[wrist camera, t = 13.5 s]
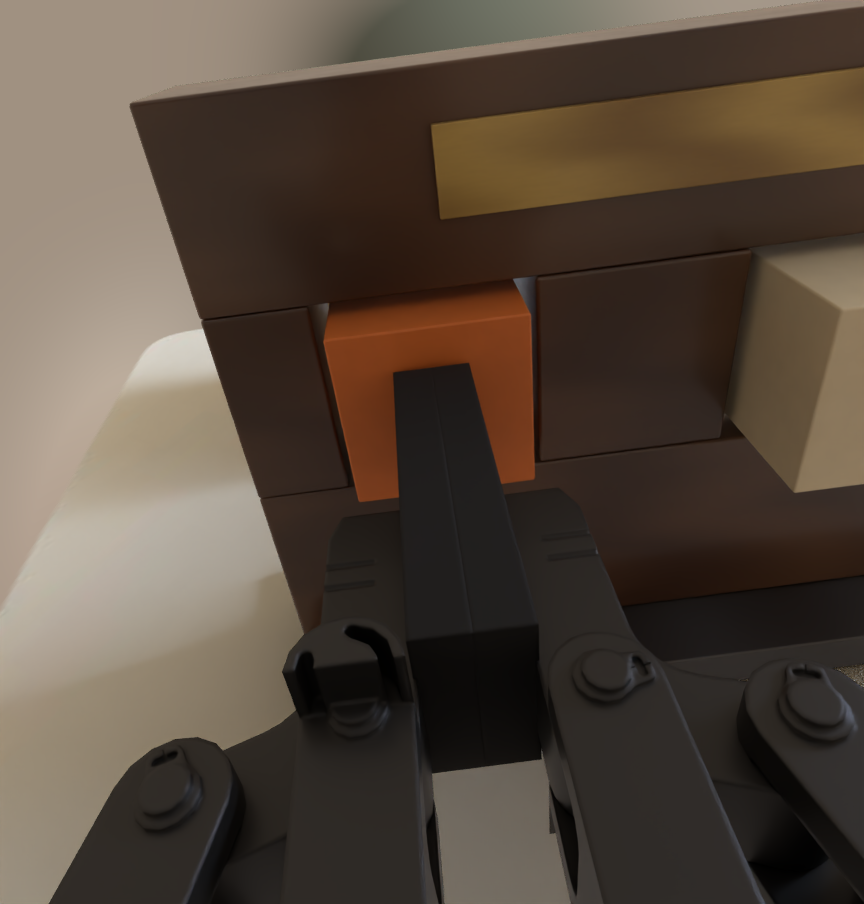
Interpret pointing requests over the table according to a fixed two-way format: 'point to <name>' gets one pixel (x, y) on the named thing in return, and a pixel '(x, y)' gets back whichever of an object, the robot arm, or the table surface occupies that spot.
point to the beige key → (803, 361)
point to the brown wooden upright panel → (548, 287)
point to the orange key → (424, 346)
